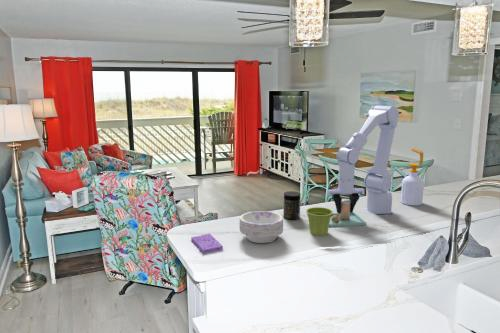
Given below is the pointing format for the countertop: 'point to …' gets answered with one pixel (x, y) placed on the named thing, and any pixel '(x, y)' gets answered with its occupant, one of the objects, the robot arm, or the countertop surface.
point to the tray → (348, 221)
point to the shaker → (345, 209)
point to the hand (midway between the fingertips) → (344, 212)
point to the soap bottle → (413, 185)
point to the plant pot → (319, 220)
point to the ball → (335, 219)
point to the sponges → (207, 243)
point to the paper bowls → (261, 226)
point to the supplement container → (291, 205)
